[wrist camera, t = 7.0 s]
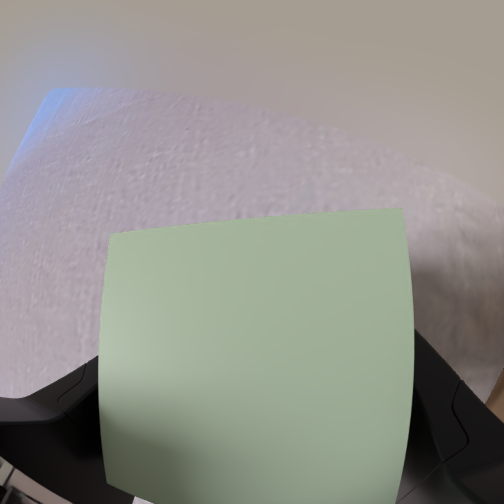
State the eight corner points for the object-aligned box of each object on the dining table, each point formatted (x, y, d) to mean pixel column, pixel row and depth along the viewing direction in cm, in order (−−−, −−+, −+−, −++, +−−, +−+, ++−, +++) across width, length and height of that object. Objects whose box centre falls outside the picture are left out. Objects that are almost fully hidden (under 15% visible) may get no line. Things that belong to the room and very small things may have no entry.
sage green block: (362, 429, 9) (387, 530, 3) (217, 423, 11) (107, 483, 4) (364, 282, 11) (401, 208, 4) (221, 287, 13) (110, 233, 6)
